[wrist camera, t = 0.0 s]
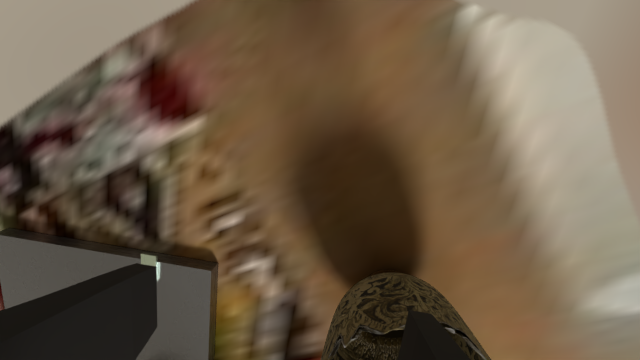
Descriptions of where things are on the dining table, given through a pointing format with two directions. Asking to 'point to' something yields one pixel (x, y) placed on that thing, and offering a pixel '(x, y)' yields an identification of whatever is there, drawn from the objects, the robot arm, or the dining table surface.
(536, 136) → the dining table surface
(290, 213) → the dining table surface
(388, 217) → the dining table surface
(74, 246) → the lock base
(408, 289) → the cup
